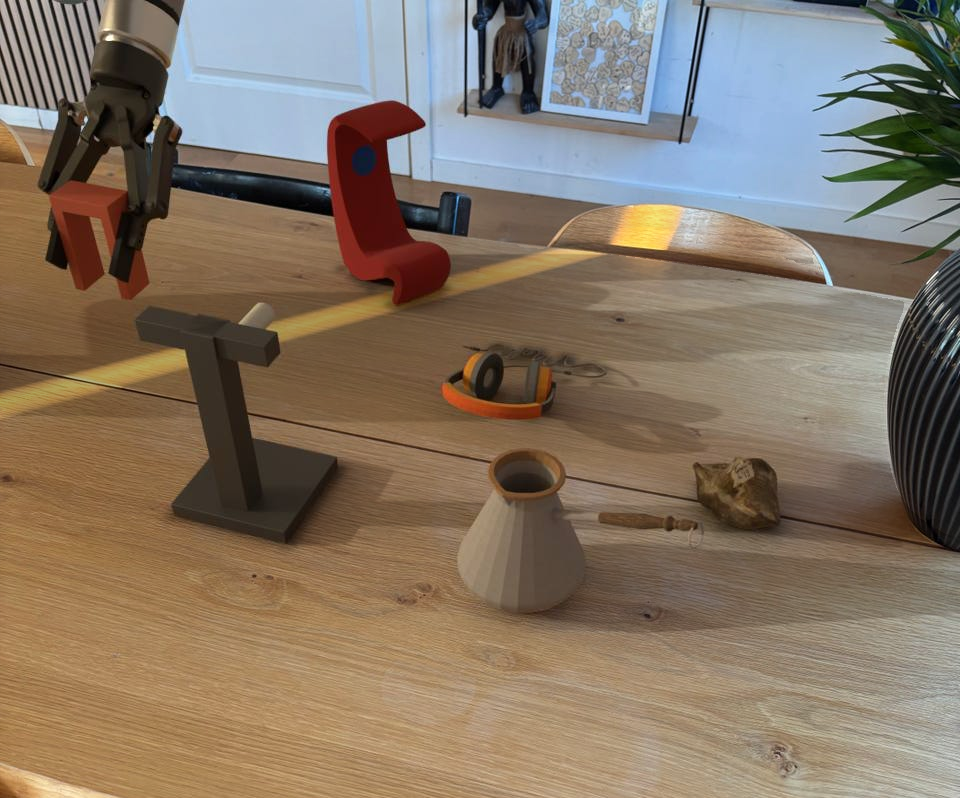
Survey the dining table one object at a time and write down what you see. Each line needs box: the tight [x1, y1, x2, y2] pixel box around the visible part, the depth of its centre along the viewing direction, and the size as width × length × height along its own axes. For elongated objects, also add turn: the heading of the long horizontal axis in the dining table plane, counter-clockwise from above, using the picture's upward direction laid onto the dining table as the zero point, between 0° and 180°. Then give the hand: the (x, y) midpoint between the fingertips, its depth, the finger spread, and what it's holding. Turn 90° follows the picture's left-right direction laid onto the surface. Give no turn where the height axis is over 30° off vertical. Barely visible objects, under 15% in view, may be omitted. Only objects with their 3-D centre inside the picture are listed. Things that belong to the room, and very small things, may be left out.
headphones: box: [441, 343, 607, 421], centre depth 110 cm, size 17×5×20 cm
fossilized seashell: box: [692, 456, 782, 530], centre depth 98 cm, size 8×7×10 cm
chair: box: [326, 99, 452, 306], centre depth 121 cm, size 15×7×20 cm, turn 39°
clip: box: [48, 180, 151, 301], centre depth 110 cm, size 7×4×10 cm, turn 71°
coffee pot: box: [456, 447, 705, 614], centre depth 85 cm, size 21×12×15 cm, turn 55°
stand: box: [134, 302, 339, 545], centre depth 93 cm, size 12×12×20 cm
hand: (87, 271), depth 109 cm, fingers closed on clip, 7 cm apart
